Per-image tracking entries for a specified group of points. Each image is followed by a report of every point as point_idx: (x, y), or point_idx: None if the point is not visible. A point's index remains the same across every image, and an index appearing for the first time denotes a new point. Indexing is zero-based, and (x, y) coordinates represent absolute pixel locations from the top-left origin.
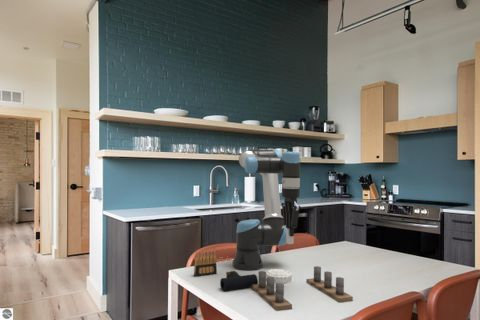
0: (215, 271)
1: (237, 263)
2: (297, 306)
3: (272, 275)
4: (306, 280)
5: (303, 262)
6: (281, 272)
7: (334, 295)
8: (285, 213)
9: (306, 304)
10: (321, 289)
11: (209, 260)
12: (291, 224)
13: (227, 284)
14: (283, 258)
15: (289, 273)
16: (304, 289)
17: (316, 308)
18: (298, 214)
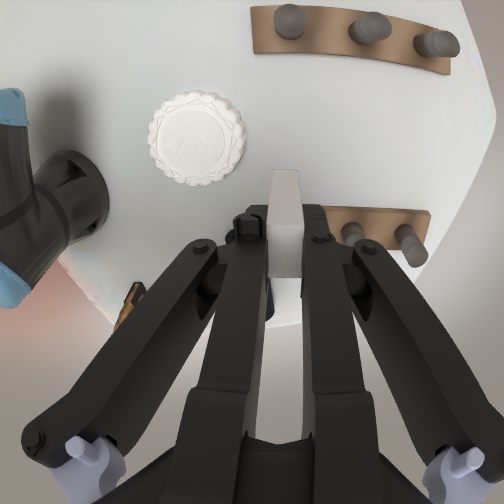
0: (140, 289)
1: (90, 235)
2: (423, 191)
3: (219, 173)
4: (254, 53)
5: (49, 14)
6: (199, 133)
7: (429, 69)
8: (163, 375)
9: (424, 163)
10: (360, 56)
11: None
12: (366, 309)
13: (273, 309)
14: (13, 72)
15: (214, 106)
16: (322, 96)
17: (450, 156)
18: (464, 363)
